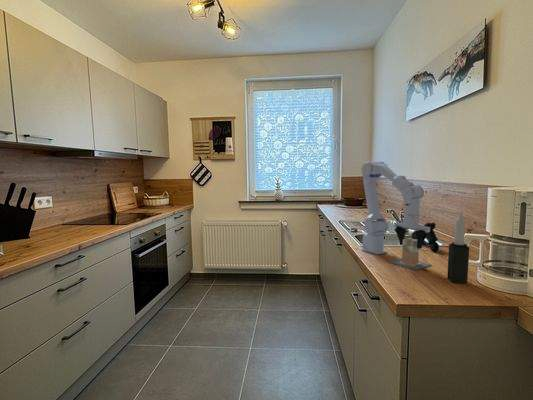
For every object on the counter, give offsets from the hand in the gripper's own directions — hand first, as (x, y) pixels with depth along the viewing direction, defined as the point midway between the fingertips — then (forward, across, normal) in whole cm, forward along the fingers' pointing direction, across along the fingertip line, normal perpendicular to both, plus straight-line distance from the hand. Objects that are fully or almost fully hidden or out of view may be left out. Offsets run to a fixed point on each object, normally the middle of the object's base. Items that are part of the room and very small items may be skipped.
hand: (410, 246), depth 119 cm
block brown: (+7, 0, 0) cm, 7 cm away
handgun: (+8, +13, -34) cm, 38 cm away
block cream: (+2, 0, 0) cm, 2 cm away
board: (+8, 0, 0) cm, 8 cm away
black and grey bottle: (+8, -20, +4) cm, 22 cm away
